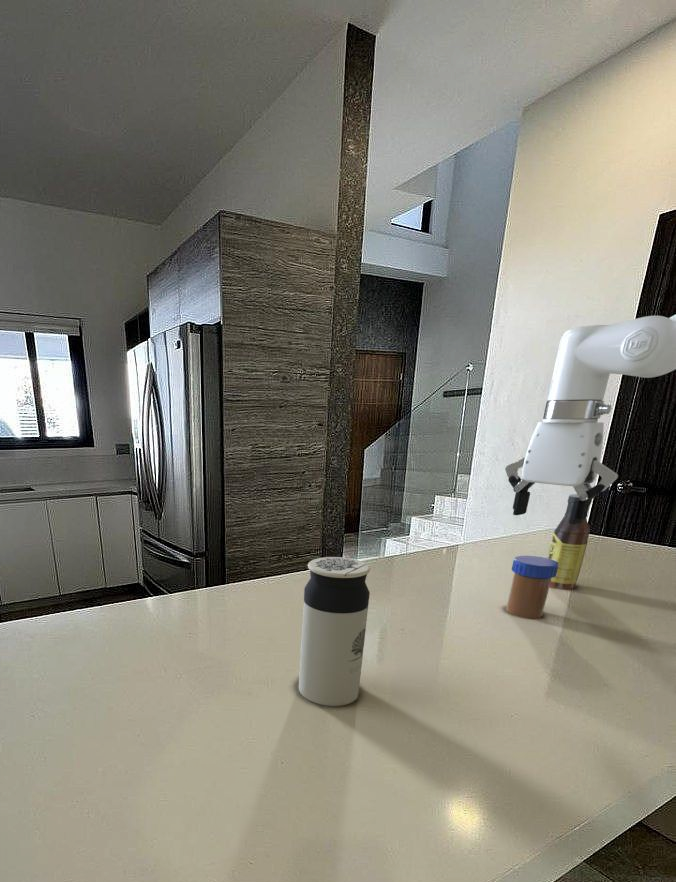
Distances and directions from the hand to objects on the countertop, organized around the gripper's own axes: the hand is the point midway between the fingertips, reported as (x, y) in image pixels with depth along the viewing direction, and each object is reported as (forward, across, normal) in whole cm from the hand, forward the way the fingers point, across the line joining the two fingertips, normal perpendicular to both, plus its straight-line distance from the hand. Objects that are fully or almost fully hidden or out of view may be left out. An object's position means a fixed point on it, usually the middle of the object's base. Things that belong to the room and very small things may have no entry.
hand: (546, 518), depth 84 cm
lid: (+8, 0, 0) cm, 8 cm away
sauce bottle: (+18, +4, -22) cm, 29 cm away
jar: (+18, 0, 0) cm, 18 cm away
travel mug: (+18, 0, +50) cm, 54 cm away
